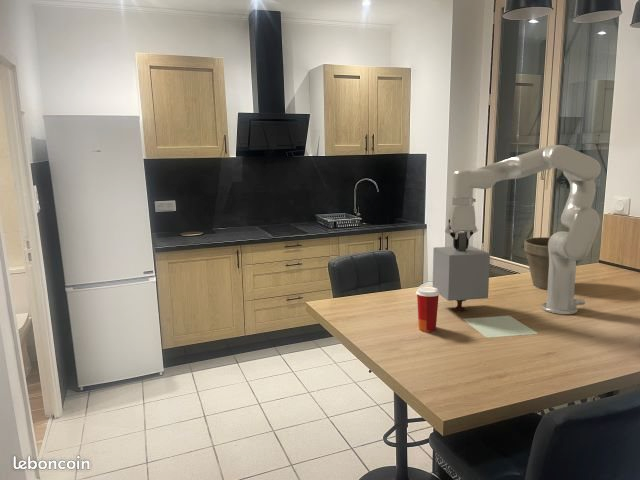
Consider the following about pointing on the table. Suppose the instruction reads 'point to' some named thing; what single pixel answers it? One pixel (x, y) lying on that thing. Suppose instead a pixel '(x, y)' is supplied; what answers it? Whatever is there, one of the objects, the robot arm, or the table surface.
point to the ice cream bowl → (459, 306)
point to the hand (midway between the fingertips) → (460, 247)
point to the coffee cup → (427, 308)
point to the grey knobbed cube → (461, 271)
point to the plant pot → (538, 260)
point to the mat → (499, 326)
